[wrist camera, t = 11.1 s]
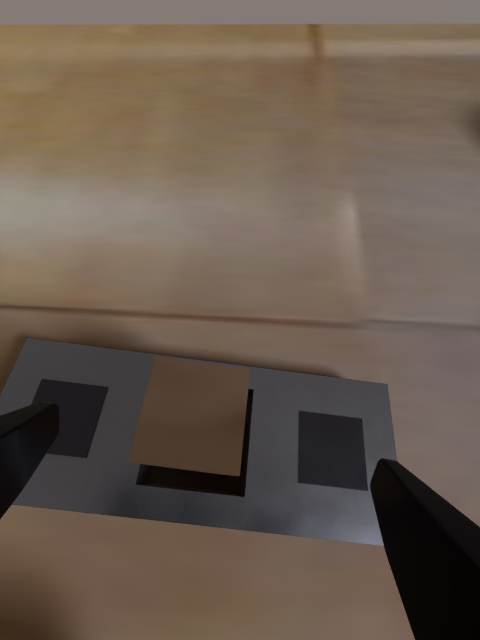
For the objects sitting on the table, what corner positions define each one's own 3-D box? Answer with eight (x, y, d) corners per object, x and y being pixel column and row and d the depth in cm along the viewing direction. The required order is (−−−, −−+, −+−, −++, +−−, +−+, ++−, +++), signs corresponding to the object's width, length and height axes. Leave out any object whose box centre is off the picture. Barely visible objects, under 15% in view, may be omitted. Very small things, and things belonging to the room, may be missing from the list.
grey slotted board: (366, 394, 23) (388, 383, 20) (379, 537, 19) (409, 548, 16) (49, 354, 22) (26, 337, 19) (-11, 494, 18) (-50, 497, 15)
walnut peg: (226, 474, 20) (239, 476, 11) (165, 467, 20) (128, 462, 11) (233, 412, 21) (250, 369, 13) (177, 405, 21) (155, 356, 12)
